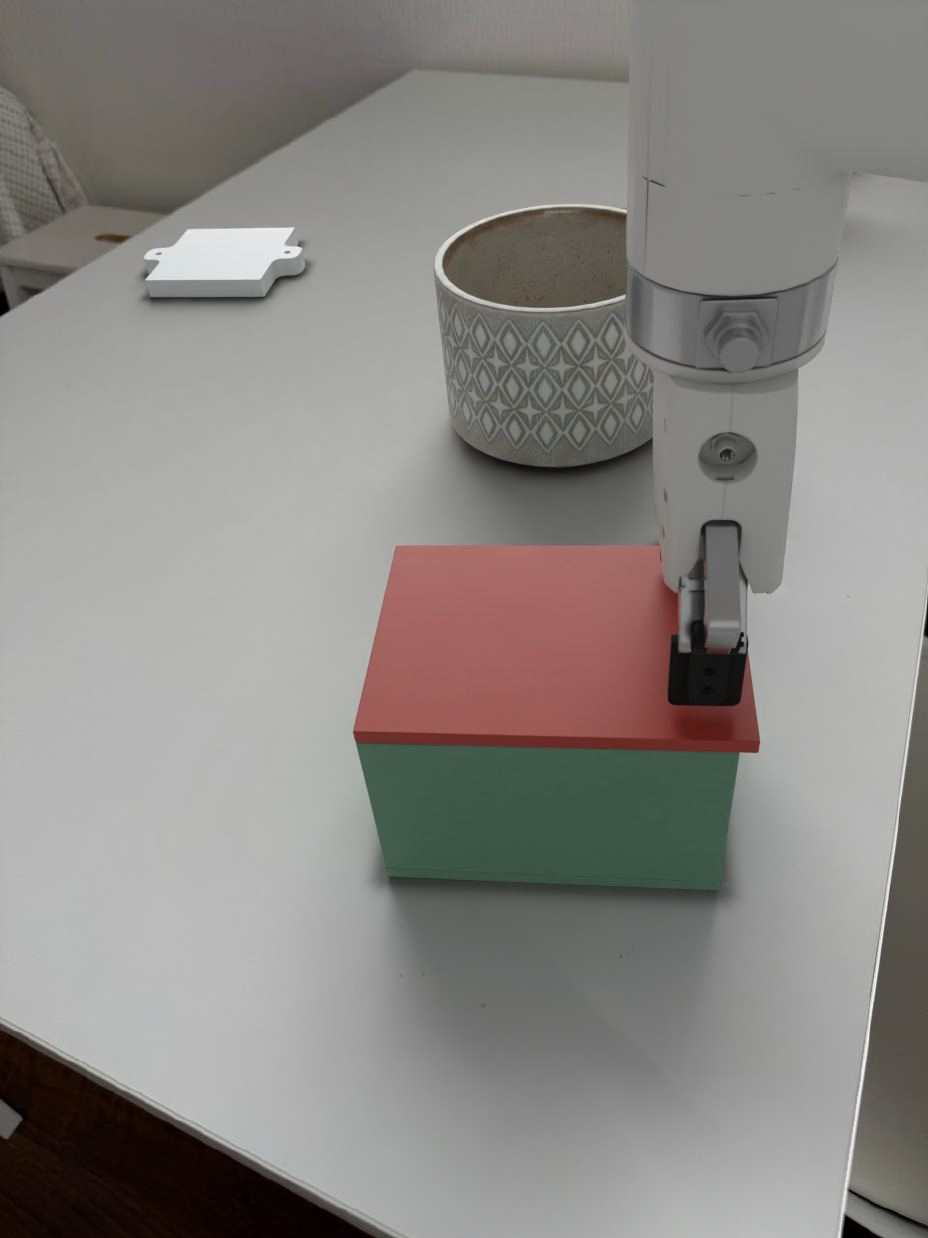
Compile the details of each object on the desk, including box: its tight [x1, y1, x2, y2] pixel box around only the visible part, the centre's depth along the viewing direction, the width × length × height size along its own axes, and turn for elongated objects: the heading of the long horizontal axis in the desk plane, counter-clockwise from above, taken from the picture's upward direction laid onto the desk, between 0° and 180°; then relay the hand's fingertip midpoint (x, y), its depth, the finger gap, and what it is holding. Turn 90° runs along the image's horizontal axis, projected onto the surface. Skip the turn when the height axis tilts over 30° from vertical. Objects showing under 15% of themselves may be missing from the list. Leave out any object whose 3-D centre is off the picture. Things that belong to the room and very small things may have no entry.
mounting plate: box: [143, 226, 306, 298], centre depth 114 cm, size 18×13×2 cm
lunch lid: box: [352, 544, 761, 754], centre depth 51 cm, size 18×14×5 cm
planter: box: [433, 203, 654, 469], centre depth 83 cm, size 19×19×14 cm
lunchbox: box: [355, 742, 741, 891], centre depth 56 cm, size 18×14×11 cm
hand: (696, 626), depth 50 cm, fingers open, 9 cm apart
